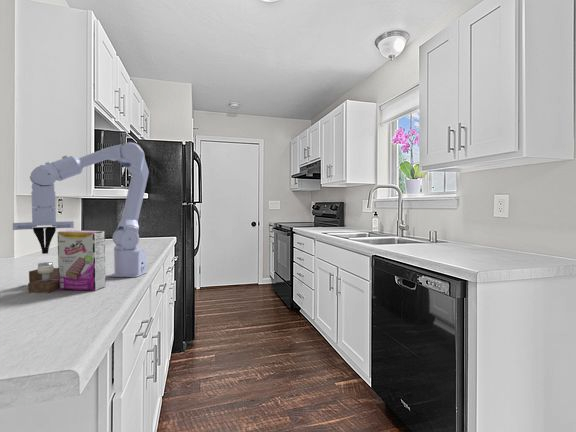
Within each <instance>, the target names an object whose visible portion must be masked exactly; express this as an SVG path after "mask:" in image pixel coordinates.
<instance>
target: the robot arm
mask: <svg viewBox="0 0 576 432" xmlns="http://www.w3.org/2000/svg"><path fill="white" fill-rule="evenodd" d="M106 160H107V161H108V160H109V161H112V162H116V161H117V162H118V163H120V165H122V166H124V167H126V170H128V172H130V174H131V177H130V181H129V186H128V189H127V194H126V198H125V203H124V207H123V212H122V217H121V219H120V221H119V223H118V225H117V228H116V230H115V231H114V232H113V233H112V237H111V238H112V241H113V243H114V244H115V245H114V247H113V256H114V257H113V258H114V260H113V261H114V273H111V274H108V277H109V278H111V277H112V278H115V277H116V278H117V277H118V278H122V277H123V278H124V277H125V278H126V277H127V278H137V277H140V276H142V275H144V274H147V273H148V270H147V253H146V250H145V249H144V248H143V249H142V248H138V247H139V246H138V244H139V243H140V235H139V229H140V225H139V223H138V222H139V217H140V214H141V209H142V205H143V200H144V196H145V191H146V188H147V183H148V178H149V173H150V171H149V168H148V163H147V160H146V157H145V152H144V150H143V149H142V148H141V146H140V145H139V144H137V143H135V142H131V141H129V142H126V143H124V144H123V143H121V144H116V145H111V146H108V147H104V148H102V149H100V150H97V151H94V152H92V153H90V154H89V153H88V154H86V155H84V156H81V157H76V156H73V155H70V156H68V155H64V156H61V159H58V160H56V161H52V162H50V161H47V162H45V163H44V164H40V165H39V166H37V167H35V168H34V169H33V170H32V171H31V173H30V176H29V181H31V183H32V185H31V222H30V221H29V222H12V230H13V231H17V230H19V231H20V230H32V231H33V233H34V234H35V236H36V238H37V240H38V242H39V245H40V247H41V248H40V249H41V253H42V254H43V255H45V254H49V249H50V245H51V243H52V242H51V241H52V239H53V237H54V235H55V233H56V231H57V229H69V228H70V229H74V228H75V225H74V223H75V222H74V221H73V220H72V221H71V220H70V221H57V210H56V209H57V207H56V205H57V204H56V203H57V201H56V192H55V182H56V181H59V182H61V181H63V180H66V179H69V178H72V177H74V176H77V175H80V174H82V172H83V169H84V168H85V167H89V166H92V165H95V164H98V163H100V162H103V161H106Z"/></svg>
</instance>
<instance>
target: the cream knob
mask: <svg viewBox="0 0 576 432" xmlns="http://www.w3.org/2000/svg"><path fill="white" fill-rule="evenodd" d="M53 268H54V265H53V266H41V267H38V266H37V269H38V273H39V274H42V282H49V273H51V272H54V271H53Z"/></svg>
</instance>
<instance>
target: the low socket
mask: <svg viewBox="0 0 576 432" xmlns="http://www.w3.org/2000/svg"><path fill="white" fill-rule="evenodd" d="M27 287H28V288H27V290H28V292H27V293H30V294H31V293H32V294H33V293H35V294H36V293H37V294H42V293H44V294H49V293H52V292H55V291H58V290H59V279H49V282H42V280H38V281H35V282H32V283H28V285H27Z"/></svg>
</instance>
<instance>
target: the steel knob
mask: <svg viewBox="0 0 576 432" xmlns="http://www.w3.org/2000/svg"><path fill="white" fill-rule="evenodd" d="M41 266H53V267H54V263H53V262H51V261H47V262H39V263H37V268H38V267H41Z"/></svg>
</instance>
